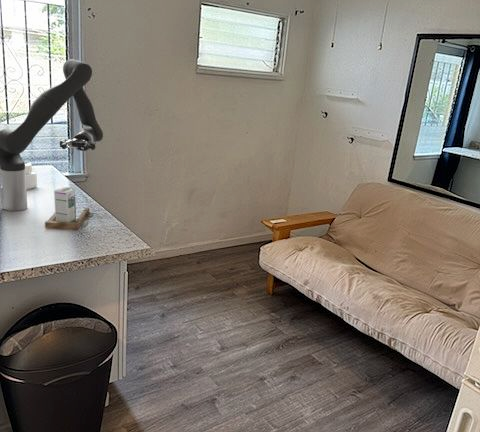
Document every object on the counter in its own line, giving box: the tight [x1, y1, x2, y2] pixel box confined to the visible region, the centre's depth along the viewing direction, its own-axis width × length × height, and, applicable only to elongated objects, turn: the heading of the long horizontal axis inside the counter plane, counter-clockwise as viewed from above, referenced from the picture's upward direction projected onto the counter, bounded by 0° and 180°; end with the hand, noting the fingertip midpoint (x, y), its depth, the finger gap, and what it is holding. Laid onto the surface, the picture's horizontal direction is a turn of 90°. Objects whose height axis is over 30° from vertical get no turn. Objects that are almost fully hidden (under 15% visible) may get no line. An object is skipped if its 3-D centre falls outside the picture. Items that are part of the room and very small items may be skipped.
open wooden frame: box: [44, 207, 94, 231], centre depth 183 cm, size 14×22×2 cm, turn 6°
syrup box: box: [53, 186, 77, 223], centre depth 177 cm, size 6×6×14 cm
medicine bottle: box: [24, 161, 38, 191], centre depth 214 cm, size 7×7×12 cm
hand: (74, 147), depth 184 cm, fingers open, 8 cm apart
